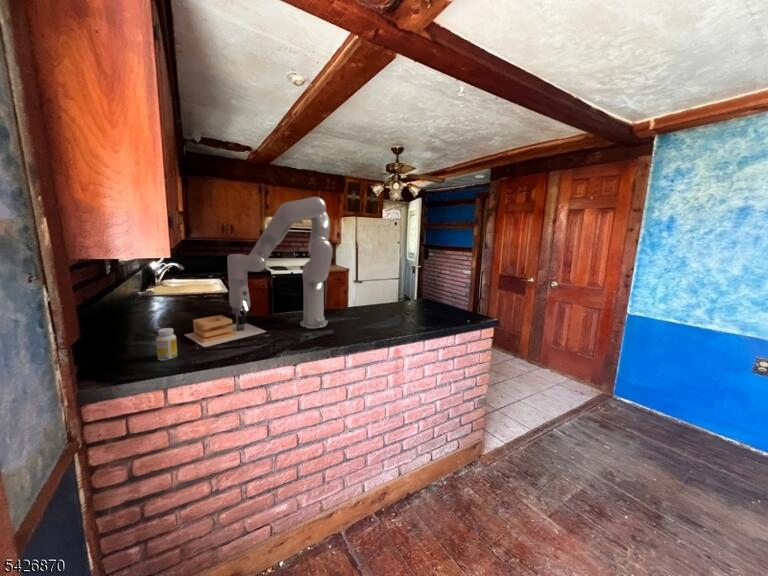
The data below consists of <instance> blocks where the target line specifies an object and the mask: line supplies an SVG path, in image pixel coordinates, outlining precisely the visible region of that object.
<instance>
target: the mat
mask: <svg viewBox="0 0 768 576" xmlns="http://www.w3.org/2000/svg"><path fill="white" fill-rule="evenodd" d="M227 325H228V326H230V327H232V328H233V332H235V333H236V336H231V337H227V338H223V339H219V340H214V341H210V342H206V343H203V342H201V341H199V340H198V339H196V338H194V337H192V336H191V332H190V333H185V334H184V336H185V337H187V338H188V339H190V340H192V341H194V342H195V343H197V344H198V345H200V346H202V347H204V348H206V347H211V346H215V345H219V344H223V343H227V342H230V341H235V340H238V339H243V338H247V337H252V336H256V335H259V334H264V333H266V332H267V331H266V330H265V329H262V328H261V327H260V328H259V327H257V326H255V325H253V324H249V323H247V322H246V324H244V330H243V331H236V323H232V324H227Z"/></svg>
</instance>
